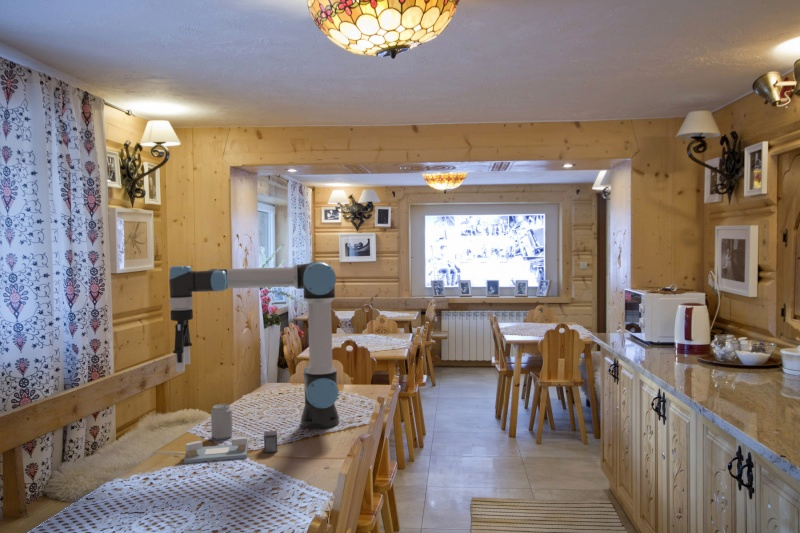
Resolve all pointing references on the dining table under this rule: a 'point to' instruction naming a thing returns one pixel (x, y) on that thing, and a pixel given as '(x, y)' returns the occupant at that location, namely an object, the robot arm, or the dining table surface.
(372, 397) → the dining table surface
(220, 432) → the can
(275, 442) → the stepped grey block
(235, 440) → the rig
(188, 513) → the dining table surface
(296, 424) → the dining table surface
